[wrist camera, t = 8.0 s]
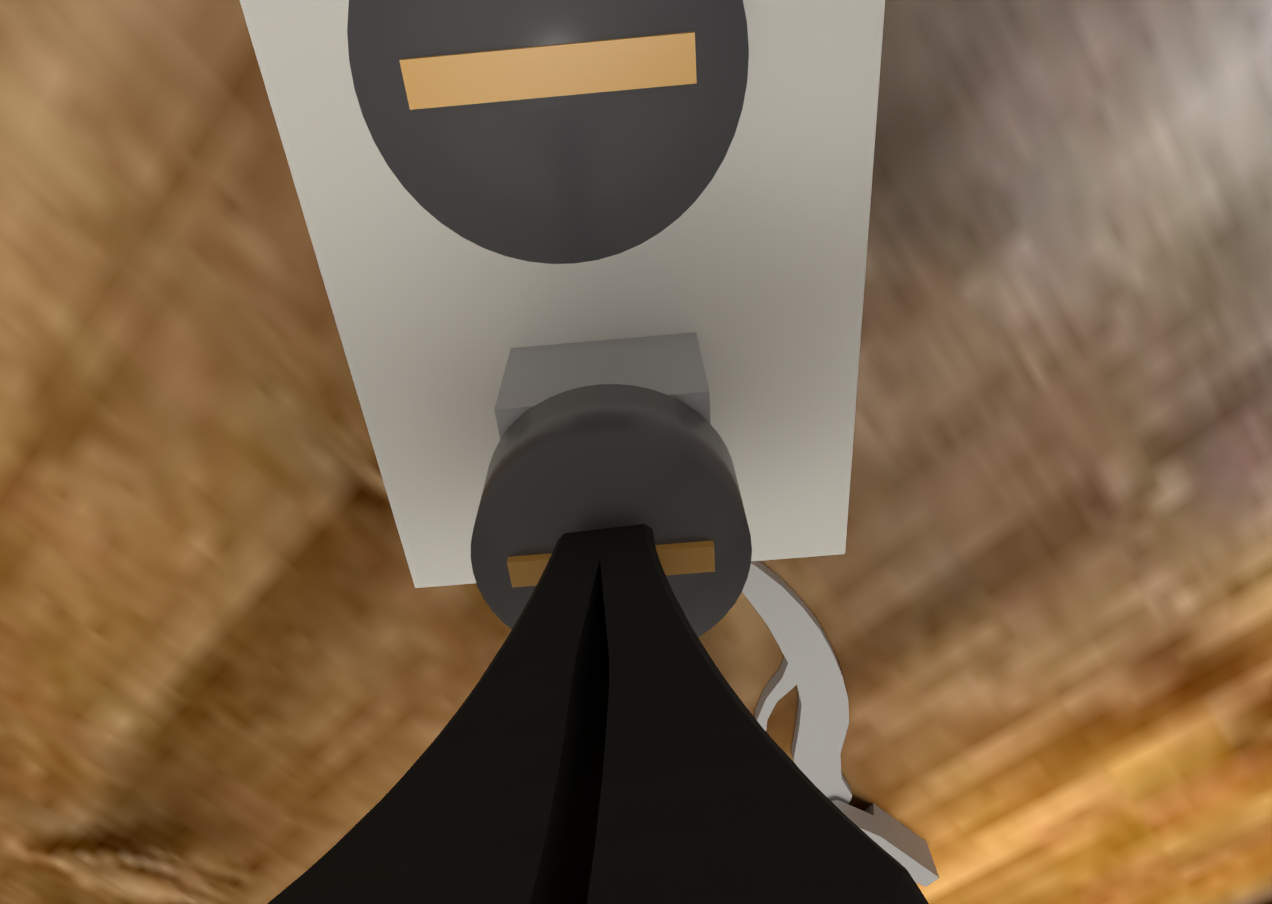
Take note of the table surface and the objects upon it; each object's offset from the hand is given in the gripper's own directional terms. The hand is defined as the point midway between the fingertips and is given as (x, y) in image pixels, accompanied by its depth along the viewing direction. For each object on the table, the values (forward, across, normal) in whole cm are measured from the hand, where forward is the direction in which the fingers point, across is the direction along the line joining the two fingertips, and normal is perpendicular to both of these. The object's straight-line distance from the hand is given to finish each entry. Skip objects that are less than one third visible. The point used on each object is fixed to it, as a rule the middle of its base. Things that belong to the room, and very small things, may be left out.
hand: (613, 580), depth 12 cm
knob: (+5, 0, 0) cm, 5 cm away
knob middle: (+5, 0, -7) cm, 8 cm away
